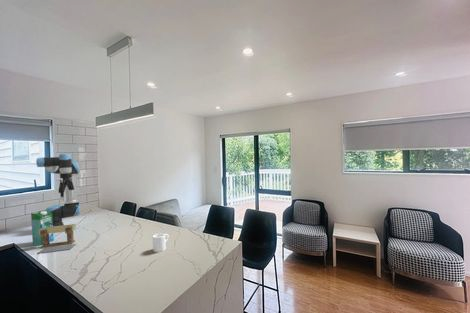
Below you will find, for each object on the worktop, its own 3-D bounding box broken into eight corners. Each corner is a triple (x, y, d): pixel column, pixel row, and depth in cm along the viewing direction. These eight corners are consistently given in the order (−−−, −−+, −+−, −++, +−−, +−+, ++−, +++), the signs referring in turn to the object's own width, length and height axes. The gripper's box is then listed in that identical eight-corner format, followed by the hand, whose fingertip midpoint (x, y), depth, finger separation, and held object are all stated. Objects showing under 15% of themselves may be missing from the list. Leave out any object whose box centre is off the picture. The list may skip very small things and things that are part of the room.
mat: (44, 248, 157) (44, 248, 157) (76, 244, 162) (76, 243, 162) (37, 254, 149) (36, 253, 149) (70, 249, 154) (70, 248, 154)
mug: (172, 246, 151) (172, 232, 151) (158, 253, 141) (157, 238, 141) (165, 244, 155) (164, 230, 155) (150, 250, 146) (150, 236, 146)
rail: (39, 234, 159) (38, 229, 159) (42, 232, 163) (42, 227, 163) (73, 230, 165) (72, 225, 165) (75, 229, 169) (75, 224, 169)
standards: (45, 244, 165) (45, 228, 165) (75, 241, 170) (74, 224, 170) (40, 248, 158) (39, 231, 158) (71, 244, 163) (70, 227, 163)
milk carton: (41, 245, 165) (40, 213, 165) (32, 244, 167) (30, 213, 166) (53, 240, 174) (52, 210, 173) (45, 240, 175) (43, 210, 175)
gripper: (67, 172, 182) (68, 197, 182) (51, 174, 158) (53, 202, 158) (77, 171, 184) (79, 196, 184) (63, 173, 160) (65, 201, 160)
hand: (67, 199), depth 171 cm, fingers open, 13 cm apart
